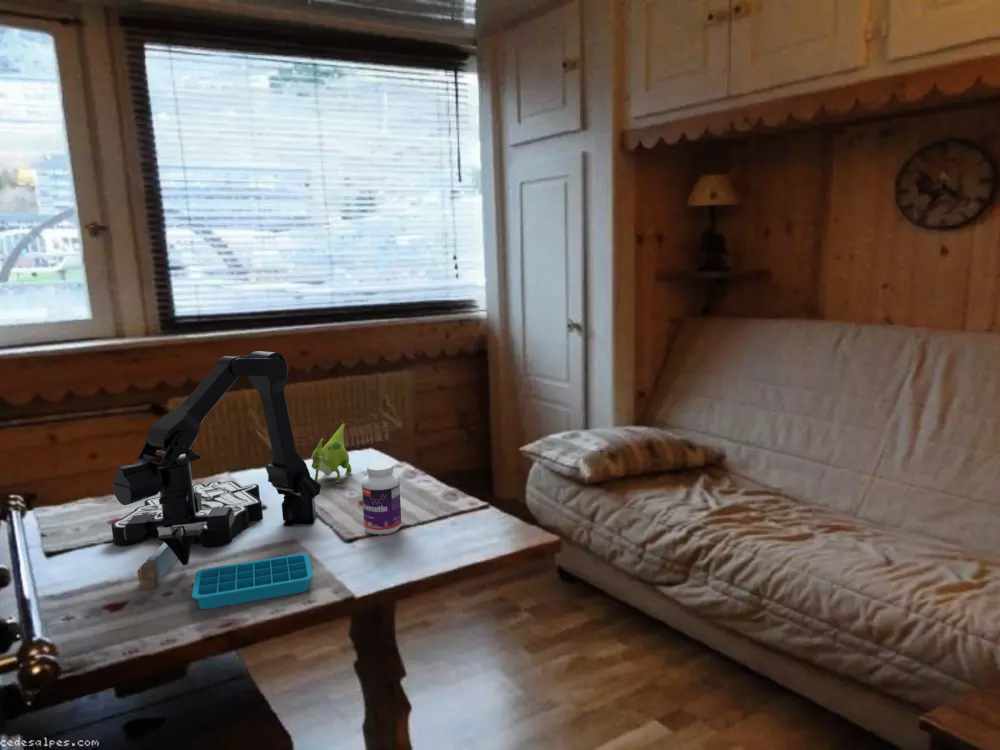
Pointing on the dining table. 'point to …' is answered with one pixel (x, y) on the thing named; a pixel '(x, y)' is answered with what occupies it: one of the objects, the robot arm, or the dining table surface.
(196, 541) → the decorative sign
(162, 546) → the pale blue flat bar
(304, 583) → the ice cube tray
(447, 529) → the dining table surface
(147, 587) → the wooden block
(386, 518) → the pill bottle
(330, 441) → the toy
